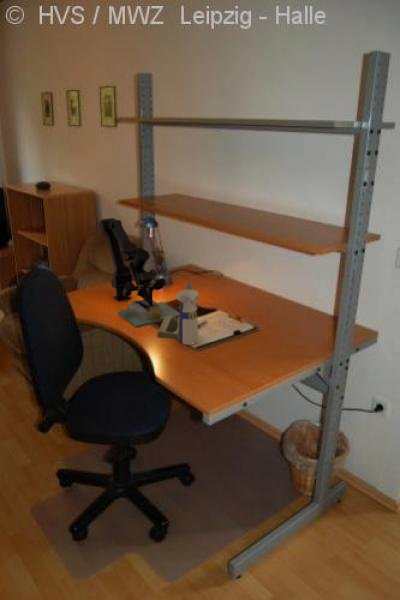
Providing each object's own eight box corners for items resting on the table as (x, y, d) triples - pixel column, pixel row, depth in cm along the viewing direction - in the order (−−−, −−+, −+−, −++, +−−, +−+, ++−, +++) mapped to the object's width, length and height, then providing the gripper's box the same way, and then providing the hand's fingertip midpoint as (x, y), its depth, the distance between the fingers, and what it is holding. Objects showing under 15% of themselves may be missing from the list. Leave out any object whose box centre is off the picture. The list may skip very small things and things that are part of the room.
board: (117, 313, 206) (117, 311, 206) (161, 303, 217) (161, 301, 217) (135, 327, 192) (135, 325, 192) (181, 316, 203) (181, 314, 203)
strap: (137, 302, 206) (137, 300, 206) (143, 301, 208) (143, 299, 208) (150, 307, 197) (150, 305, 196) (156, 306, 198) (156, 304, 198)
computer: (177, 339, 183) (177, 331, 181) (157, 338, 183) (157, 330, 182) (183, 323, 197) (183, 316, 196) (164, 322, 198) (164, 315, 197)
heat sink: (129, 311, 206) (128, 299, 204) (151, 306, 212) (150, 294, 210) (144, 322, 194) (144, 310, 192) (168, 316, 200) (167, 304, 198)
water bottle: (204, 341, 180) (204, 279, 171) (185, 346, 175) (184, 283, 167) (193, 333, 186) (192, 273, 177) (174, 338, 182) (172, 277, 173)
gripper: (123, 266, 192) (136, 300, 187) (163, 259, 201) (177, 291, 197) (116, 280, 201) (129, 312, 196) (155, 272, 210) (168, 303, 206)
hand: (151, 304), depth 198 cm, fingers closed, pressing on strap
